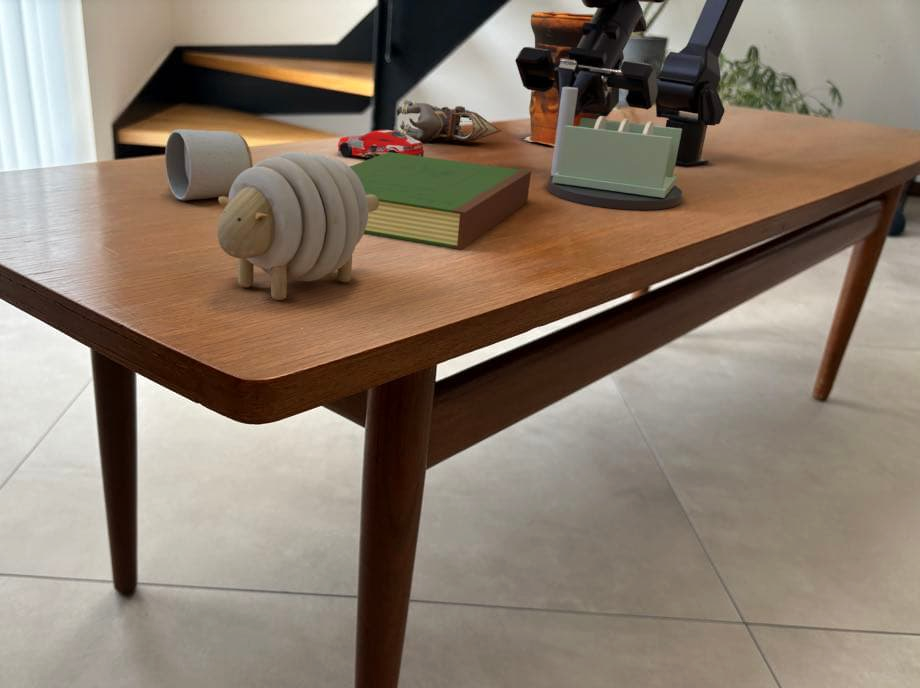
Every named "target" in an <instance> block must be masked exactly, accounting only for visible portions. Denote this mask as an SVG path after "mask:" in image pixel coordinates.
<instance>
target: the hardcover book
mask: <svg viewBox="0 0 920 688" xmlns="http://www.w3.org/2000/svg"><path fill="white" fill-rule="evenodd" d="M349 167H350V168H351V169H352V170H353V171H354V172H355V173H356V174H357V176H358V177H359V179H360V181H361V183H362V185H363V188H364V190H365V194H366V195H371V194H372V195H375V196H376V197H377V198H378V200H379V207H378V209H377V210H375V211H371V212H368V221H367V225H366V228H365V231H364V234H367V235H373V236H380V237H386V238H392V239H397V240H404V241H408V242H409V241H410V242H415V243H421V244H425V245H426V244H427V245H433V246H438V247H445V248H450V249H456V250H463V249H464V248H466V247H467V246H469V245H470V244H472V243H473V242H474V241H476V240H477V239H478V238H480V237H481V236H483V235H484V234H486V233H487V232H488V231H489V230H491V229H492V228H494V227H496V226H497V225H498V224H499V223H501V222H502V221H503V220H505V219H506V218H508V217H510V215H512V214H513V213H515V211H518V209H520V208H521V207H523V206H524V205H525V204H527V203H528V199H529V191H530V183H531V175H532V170H525V169H520V168H519V169H518V168H510V167H503V166H496V165H490V164H489V165H488V164H480V163H474V162H473V163H472V162H467V161H458V160H451V159H445V158H444V159H443V158H437V157H429V156H423V157H422V156H415V155H407V154H400V153H392V152H388V153H385V154H382V155H380V156H377V157H374V158H369V159H366V160H364V161H361V162H358V163H355V164H353V165H350V166H349Z"/></svg>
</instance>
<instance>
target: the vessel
mask: <svg viewBox="0 0 920 688" xmlns="http://www.w3.org/2000/svg"><path fill="white" fill-rule="evenodd" d="M594 14H595V13H582V14H581V13H571V12H556V11H542V12H541V11H537V12H533V13H531V15H530V27H531V31H532V33H533V36H534V48H540V49H547V50H550V51H551V55H552V58H553V62H554V63H559V64H560V60H561V59H569V60H570V57H569V51H570V49H571V47H577V46H578V44H579V42H580V40H581V38H582V37H583V33H582V29H581V28H582V26H583V24H584V23H590V22H591V20H592V18H593V16H594ZM530 91H531V93H530V100H529V101H530V102H529V106H528V113H529V117H530V134H531V135H530V136H529V135H528V136H526V137H525V138H524V141H527V142H531V143H539V144H544V145H548V146H550V147H553V148H554V146H555V139H556V131H557V127H556V123H557V119H558V106H559V94H558V90H557V87H556V83H554V85H553V87H552V89H550V90H548V91H546V92H540V91H534V90H530ZM599 117H600V115H595V114H589V113H588V114H585V113H582V112H581V113H579V114H578V115H577V116H576V117H575V118H574V123H573V126H577V127H579V126H580V119H581V118H590V119H598V118H599Z"/></svg>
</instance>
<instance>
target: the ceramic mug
mask: <svg viewBox="0 0 920 688" xmlns="http://www.w3.org/2000/svg"><path fill="white" fill-rule="evenodd" d="M251 151H252V150H251V148H250V145H249V144H248V142H247V140H246V139H245V138H244V137H243V136H242V135H241V134H238V133H236V132H231V131H228V130H227V131H226V130H198V129H187V128H186V129H185V128H184V129H183V128H181V129H180V128H177V129H173V130H172V132H171V133H169V136H168V137H167V141H166V146H165V151H164V163H165V164H164V165H165V173H166V178H167V182H168V185H169V188H170V190H171V192H172V194H173V196H174V197H175V198H176V199H177V200H179V201H192V200H193V201H194V200H205V199H213V198H219V197H222V196H225V197H227V198H228V196H229V192H230V189H231V187H232V184H233V183H234V181H235V180H236V178H237V177H238V176H239V175H240V174H241V173H242V172H243V171H245V170H247V169H249V168H251V167H253V166H254V164H253V163H254V162H253V156H252V152H251Z"/></svg>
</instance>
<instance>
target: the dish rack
mask: <svg viewBox="0 0 920 688" xmlns="http://www.w3.org/2000/svg"><path fill="white" fill-rule="evenodd" d="M577 94H578V88H574V87H563V88H562V94H561V101H560V109H559V116H558V124H557V131H556V139H555V146H554V147H553V155H552V162H551V170H550V176H553V181H552V182H553V183H560V184H567V185H574V186H581V187H588V188H595V189H602V190H610V191H617V192H624V193H631V194H638V195H645V196H652V197H660V198H664V197H665V196H666V195H667V194H668V193H669V191H670V190H671V189H672V188H673V187H674V186H676V185H677V180H678V176H677V175H674V173H675V167H676V164H675V163H676V158H677V153H678V148H679V143H680V138H681V133H682V129H679V128H670V127H665V126H660V125H654V122H653V121H649V120H648V121H647V122H646V124H643V123H634V122H631V121H630V119H629V118H623V119H622V121H616V120H607V118H606V117H604V116H600V117H599V118H598V119H590V118H581V119H580V126H579V127H577V126H573V123H574V115H575V108H576V101H577Z"/></svg>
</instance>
